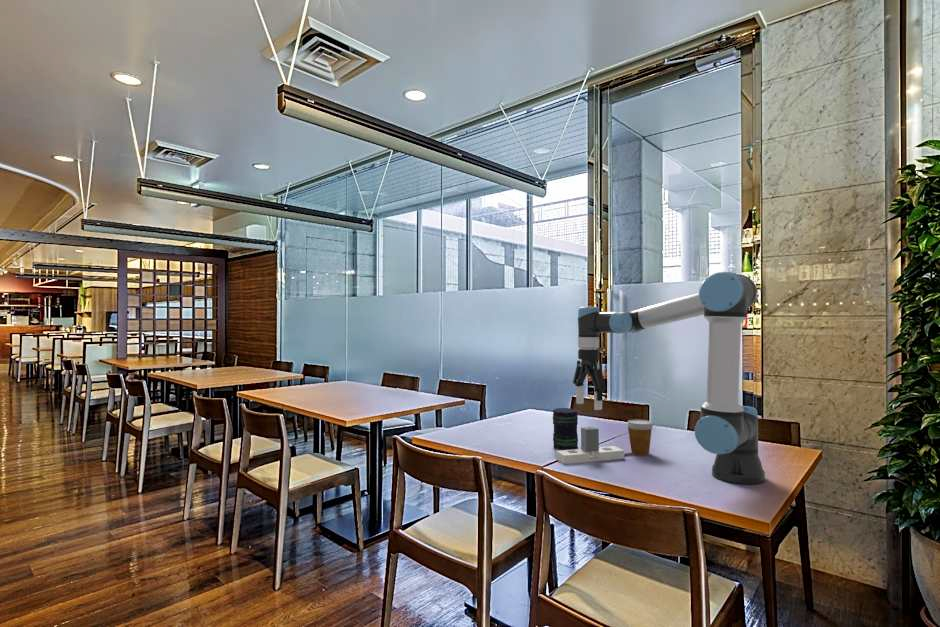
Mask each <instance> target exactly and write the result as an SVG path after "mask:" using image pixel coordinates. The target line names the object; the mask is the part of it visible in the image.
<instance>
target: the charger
mask: <svg viewBox="0 0 940 627" xmlns="http://www.w3.org/2000/svg"><path fill="white" fill-rule="evenodd" d="M599 429H600V428H598V427H595V426H586V427H585V426H584V427H583V426H582V427H580V449H582V450H584V451H586V452H588V453H590V456H592V451H599V446H600V445H599V444H600V441H599V439H600V438H599V437H600V436H599V433H600V432H599V431H600V430H599Z"/></svg>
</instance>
